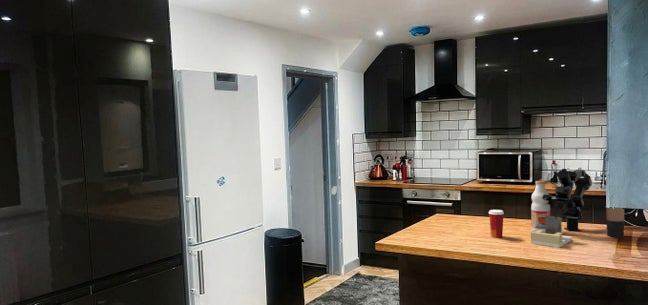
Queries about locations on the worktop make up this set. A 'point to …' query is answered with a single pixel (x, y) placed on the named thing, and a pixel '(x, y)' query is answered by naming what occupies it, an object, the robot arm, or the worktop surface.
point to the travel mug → (615, 222)
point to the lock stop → (553, 225)
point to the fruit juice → (539, 207)
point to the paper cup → (496, 223)
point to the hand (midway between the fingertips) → (559, 213)
